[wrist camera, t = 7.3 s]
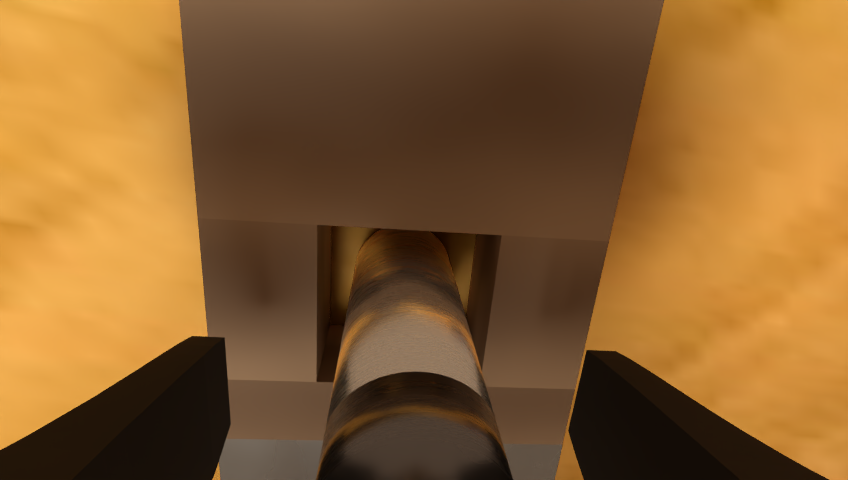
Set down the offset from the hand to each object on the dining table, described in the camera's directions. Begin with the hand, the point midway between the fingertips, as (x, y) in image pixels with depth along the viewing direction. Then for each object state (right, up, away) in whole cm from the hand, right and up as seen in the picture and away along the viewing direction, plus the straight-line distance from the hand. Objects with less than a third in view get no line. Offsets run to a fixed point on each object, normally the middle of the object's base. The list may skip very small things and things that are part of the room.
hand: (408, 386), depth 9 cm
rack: (0, +4, +5) cm, 6 cm away
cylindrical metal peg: (0, +2, +6) cm, 6 cm away
